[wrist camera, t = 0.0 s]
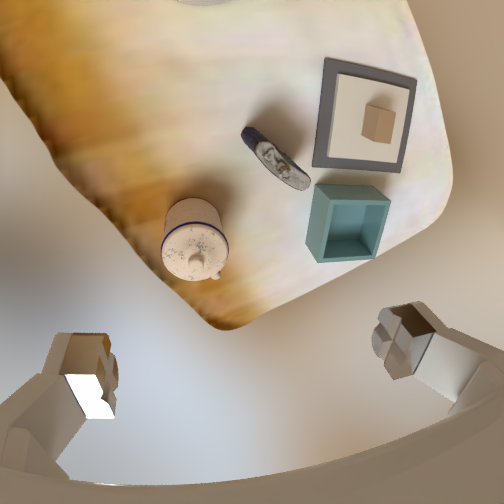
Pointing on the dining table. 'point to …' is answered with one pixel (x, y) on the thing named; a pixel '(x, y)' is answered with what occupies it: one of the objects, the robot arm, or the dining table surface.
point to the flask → (275, 160)
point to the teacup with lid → (194, 241)
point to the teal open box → (346, 222)
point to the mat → (327, 109)
